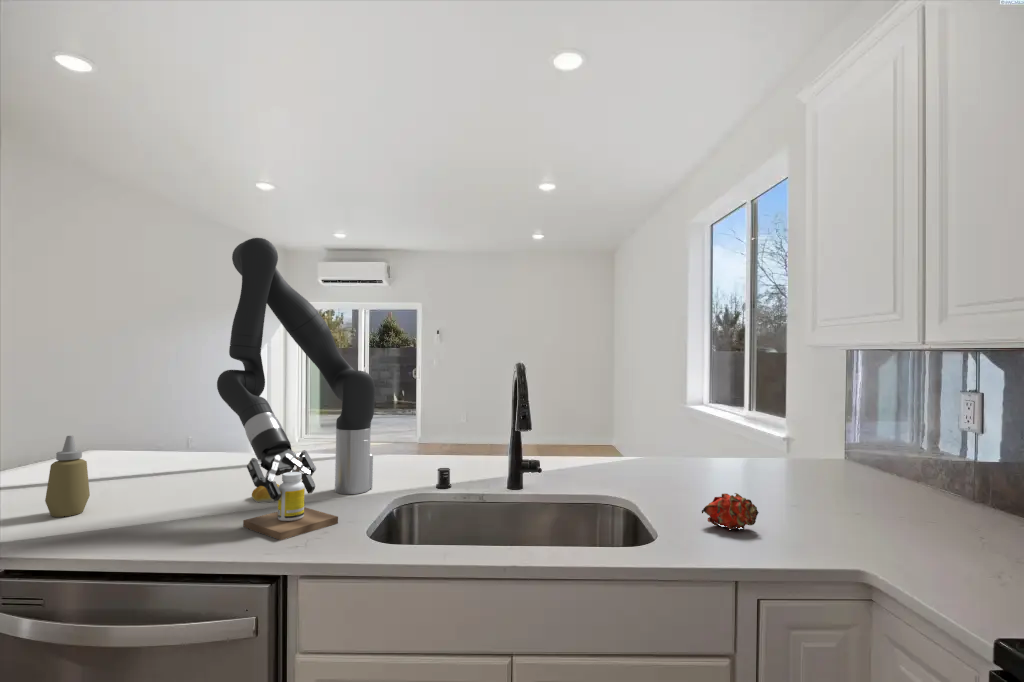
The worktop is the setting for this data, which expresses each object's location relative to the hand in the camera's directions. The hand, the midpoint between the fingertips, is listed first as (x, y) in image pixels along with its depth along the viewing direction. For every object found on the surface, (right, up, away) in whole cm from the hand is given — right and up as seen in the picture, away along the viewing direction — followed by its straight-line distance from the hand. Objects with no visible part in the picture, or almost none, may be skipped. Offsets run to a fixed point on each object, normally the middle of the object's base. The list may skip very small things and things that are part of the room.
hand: (295, 494), depth 121 cm
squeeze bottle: (-56, -6, +7) cm, 56 cm away
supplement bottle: (-1, -6, +1) cm, 6 cm away
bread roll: (-16, -8, +23) cm, 29 cm away
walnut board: (-1, -7, +1) cm, 7 cm away
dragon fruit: (+96, -8, +2) cm, 97 cm away
